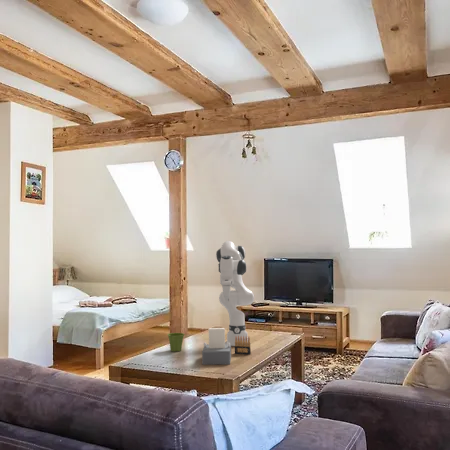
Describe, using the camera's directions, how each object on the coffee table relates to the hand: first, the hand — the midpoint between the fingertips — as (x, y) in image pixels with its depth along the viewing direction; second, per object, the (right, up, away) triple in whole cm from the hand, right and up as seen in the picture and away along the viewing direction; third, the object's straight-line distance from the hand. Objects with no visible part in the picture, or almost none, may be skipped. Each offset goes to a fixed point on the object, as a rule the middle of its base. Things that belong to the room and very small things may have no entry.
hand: (227, 302), depth 330 cm
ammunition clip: (+10, -36, +7) cm, 38 cm away
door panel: (-6, -27, -10) cm, 30 cm away
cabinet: (-6, -35, -10) cm, 37 cm away
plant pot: (-35, -37, +20) cm, 55 cm away
